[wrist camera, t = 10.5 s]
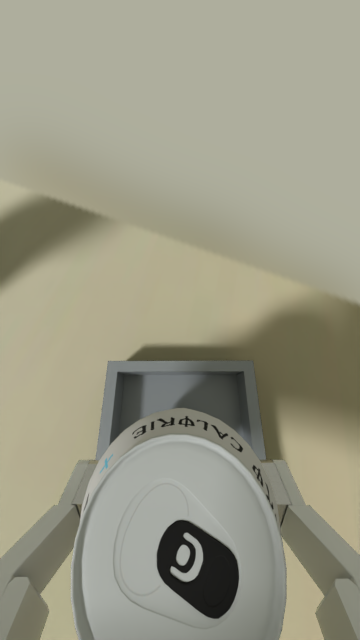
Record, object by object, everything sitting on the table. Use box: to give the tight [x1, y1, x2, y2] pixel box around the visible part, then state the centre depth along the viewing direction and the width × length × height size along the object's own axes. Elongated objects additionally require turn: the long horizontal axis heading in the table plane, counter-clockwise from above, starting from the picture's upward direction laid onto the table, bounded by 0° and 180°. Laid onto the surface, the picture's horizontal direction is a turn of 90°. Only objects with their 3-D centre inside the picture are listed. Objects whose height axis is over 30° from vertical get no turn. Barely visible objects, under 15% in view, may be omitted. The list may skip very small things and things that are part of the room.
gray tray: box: [96, 361, 266, 460], centre depth 19 cm, size 14×14×4 cm
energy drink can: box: [71, 408, 286, 640], centre depth 12 cm, size 6×6×15 cm
